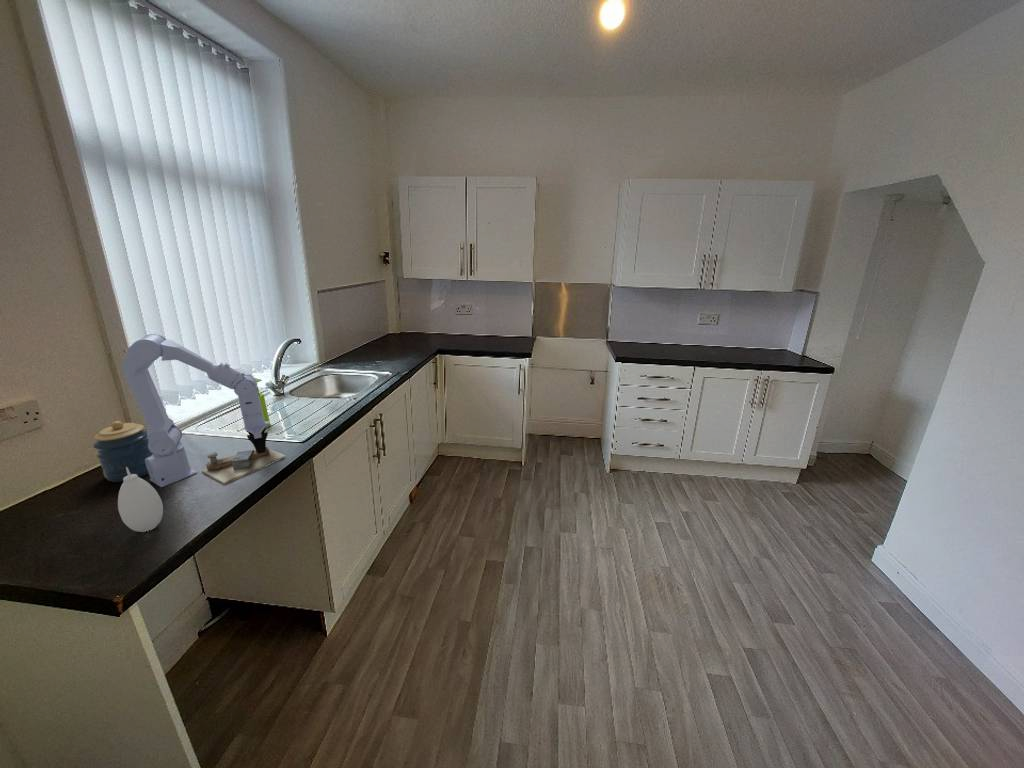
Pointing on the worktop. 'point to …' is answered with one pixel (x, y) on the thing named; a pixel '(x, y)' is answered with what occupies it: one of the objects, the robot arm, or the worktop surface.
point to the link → (228, 460)
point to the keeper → (242, 460)
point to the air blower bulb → (139, 504)
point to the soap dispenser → (263, 404)
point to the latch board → (229, 474)
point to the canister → (122, 450)
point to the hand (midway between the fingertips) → (261, 449)
